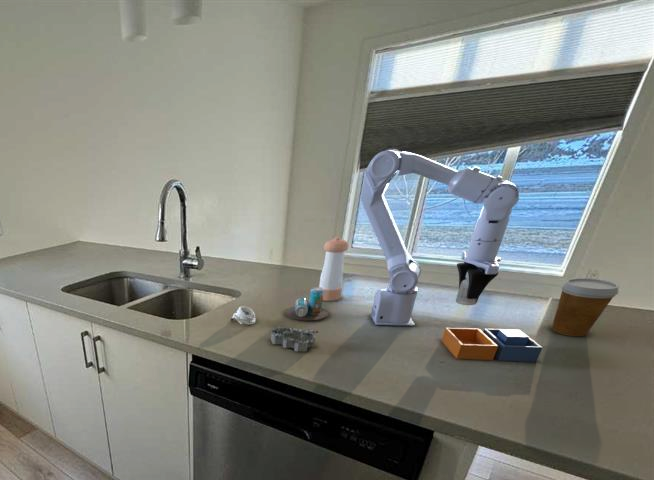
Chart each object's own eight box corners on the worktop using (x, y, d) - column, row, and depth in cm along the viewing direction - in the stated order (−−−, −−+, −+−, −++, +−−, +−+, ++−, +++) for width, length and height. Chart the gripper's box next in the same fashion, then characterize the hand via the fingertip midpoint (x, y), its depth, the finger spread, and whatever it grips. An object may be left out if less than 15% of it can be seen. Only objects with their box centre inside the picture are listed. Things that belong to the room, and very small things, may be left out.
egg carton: (318, 345, 104) (320, 331, 102) (300, 354, 100) (302, 339, 98) (284, 334, 112) (285, 320, 110) (266, 342, 108) (267, 327, 106)
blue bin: (498, 360, 90) (503, 346, 88) (479, 341, 98) (484, 328, 97) (536, 361, 88) (542, 347, 86) (513, 342, 96) (519, 329, 95)
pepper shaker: (344, 300, 130) (354, 238, 121) (321, 301, 131) (330, 240, 121) (335, 293, 137) (344, 234, 127) (313, 294, 137) (321, 236, 127)
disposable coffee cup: (586, 325, 101) (610, 278, 95) (603, 341, 94) (630, 290, 88) (537, 322, 105) (557, 276, 99) (550, 337, 97) (572, 288, 91)
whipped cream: (242, 318, 127) (242, 302, 125) (261, 320, 122) (261, 304, 120) (227, 324, 122) (227, 308, 120) (246, 327, 117) (246, 310, 115)
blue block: (501, 352, 92) (507, 336, 90) (493, 345, 95) (499, 329, 93) (522, 353, 91) (529, 337, 89) (513, 345, 94) (520, 330, 92)
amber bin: (456, 358, 92) (461, 344, 91) (441, 340, 100) (445, 327, 99) (492, 360, 90) (498, 346, 89) (474, 341, 99) (479, 328, 97)
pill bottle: (480, 305, 100) (491, 274, 96) (460, 305, 101) (470, 275, 97) (471, 299, 104) (481, 269, 100) (451, 300, 105) (461, 270, 101)
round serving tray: (328, 322, 116) (332, 295, 112) (284, 320, 120) (287, 294, 116) (326, 308, 126) (330, 282, 122) (286, 306, 129) (288, 282, 125)
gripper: (523, 245, 87) (501, 305, 94) (492, 232, 99) (474, 286, 106) (485, 246, 89) (465, 304, 96) (459, 233, 101) (443, 286, 108)
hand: (468, 295), depth 101 cm, fingers closed on pill bottle, 4 cm apart
